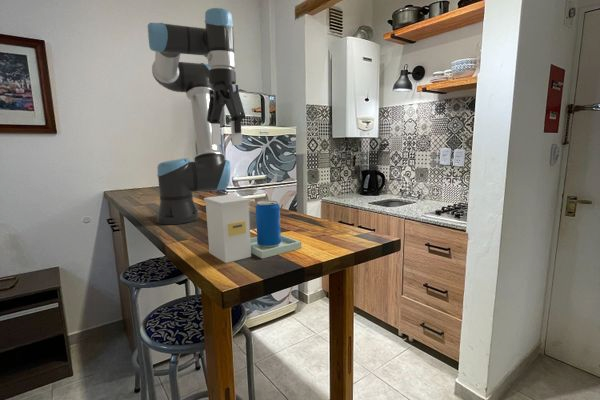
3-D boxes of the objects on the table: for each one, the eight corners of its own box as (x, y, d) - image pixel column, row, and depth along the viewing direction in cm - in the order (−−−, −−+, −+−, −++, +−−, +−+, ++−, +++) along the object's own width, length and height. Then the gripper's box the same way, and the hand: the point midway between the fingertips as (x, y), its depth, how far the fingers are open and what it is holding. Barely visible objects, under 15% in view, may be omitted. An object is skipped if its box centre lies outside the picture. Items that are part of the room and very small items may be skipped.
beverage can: (277, 249, 86) (275, 204, 84) (254, 248, 88) (252, 204, 86) (283, 242, 92) (282, 200, 90) (261, 241, 94) (260, 200, 92)
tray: (239, 247, 91) (238, 240, 91) (276, 238, 98) (275, 232, 98) (262, 258, 81) (261, 251, 81) (301, 248, 89) (301, 241, 88)
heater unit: (207, 252, 87) (203, 197, 84) (233, 246, 91) (230, 194, 89) (225, 263, 78) (221, 203, 76) (253, 256, 83) (250, 199, 80)
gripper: (193, 75, 101) (198, 145, 105) (229, 59, 82) (234, 145, 85) (215, 77, 105) (220, 144, 109) (255, 63, 86) (259, 144, 90)
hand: (226, 145), depth 97 cm, fingers open, 13 cm apart
